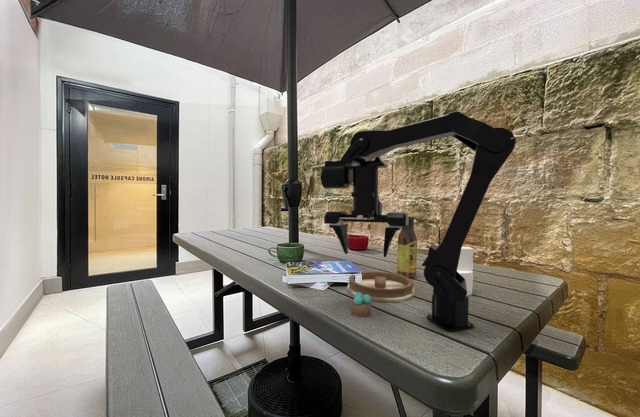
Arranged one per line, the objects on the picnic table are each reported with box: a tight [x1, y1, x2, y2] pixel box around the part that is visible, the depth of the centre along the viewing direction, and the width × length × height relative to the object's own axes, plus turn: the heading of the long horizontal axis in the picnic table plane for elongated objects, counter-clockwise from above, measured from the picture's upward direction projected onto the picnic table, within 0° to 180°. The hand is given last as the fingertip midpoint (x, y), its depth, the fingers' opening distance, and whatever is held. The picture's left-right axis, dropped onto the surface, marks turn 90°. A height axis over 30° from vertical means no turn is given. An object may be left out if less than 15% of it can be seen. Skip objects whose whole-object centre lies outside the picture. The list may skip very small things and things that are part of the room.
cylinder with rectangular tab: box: [457, 246, 474, 297], centre depth 76 cm, size 9×9×12 cm
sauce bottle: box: [396, 215, 418, 279], centre depth 90 cm, size 7×6×20 cm
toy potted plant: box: [350, 292, 372, 319], centre depth 60 cm, size 4×4×4 cm
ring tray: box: [347, 270, 415, 304], centre depth 76 cm, size 18×18×4 cm
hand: (365, 255), depth 63 cm, fingers open, 9 cm apart
